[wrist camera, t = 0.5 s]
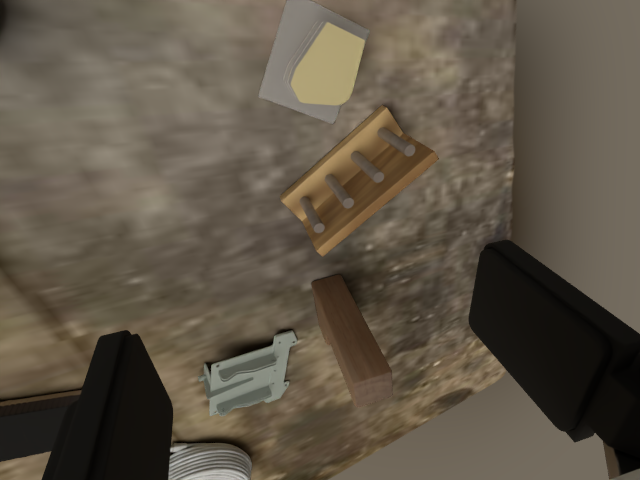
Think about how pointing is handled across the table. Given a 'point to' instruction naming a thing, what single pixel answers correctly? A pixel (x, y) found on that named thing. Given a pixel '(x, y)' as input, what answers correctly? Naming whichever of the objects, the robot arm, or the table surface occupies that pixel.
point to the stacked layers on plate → (313, 60)
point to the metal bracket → (248, 377)
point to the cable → (208, 462)
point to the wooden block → (351, 342)
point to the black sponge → (32, 424)
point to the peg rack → (356, 179)
